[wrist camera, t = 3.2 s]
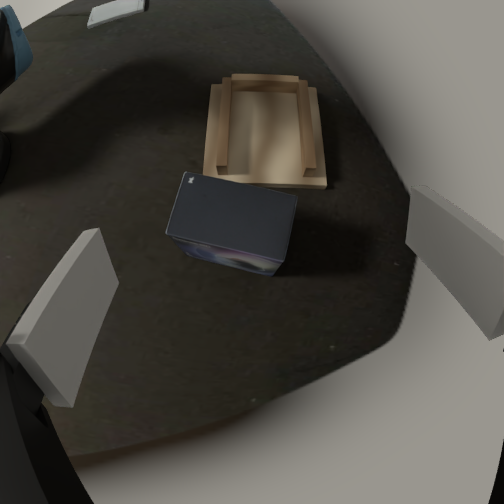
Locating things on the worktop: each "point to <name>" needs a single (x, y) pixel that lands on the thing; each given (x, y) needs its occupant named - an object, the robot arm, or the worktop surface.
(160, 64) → the worktop surface
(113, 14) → the hard drive
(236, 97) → the tray
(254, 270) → the small box
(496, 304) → the robot arm
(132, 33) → the worktop surface
